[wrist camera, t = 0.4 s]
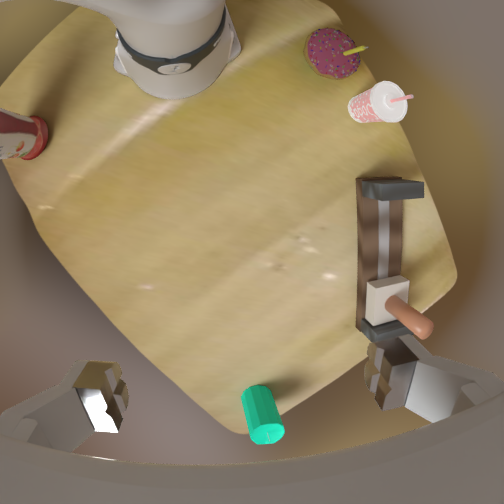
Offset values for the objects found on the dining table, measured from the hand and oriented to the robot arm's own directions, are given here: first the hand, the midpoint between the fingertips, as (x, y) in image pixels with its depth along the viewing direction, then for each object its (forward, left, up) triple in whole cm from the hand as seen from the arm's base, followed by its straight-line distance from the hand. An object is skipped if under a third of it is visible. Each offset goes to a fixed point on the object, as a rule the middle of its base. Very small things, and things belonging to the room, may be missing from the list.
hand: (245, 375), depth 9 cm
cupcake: (-22, +20, -38) cm, 48 cm away
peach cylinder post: (+18, +28, -35) cm, 49 cm away
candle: (+36, +4, -38) cm, 53 cm away
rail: (+11, +28, -38) cm, 49 cm away
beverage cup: (-14, +26, -38) cm, 48 cm away
